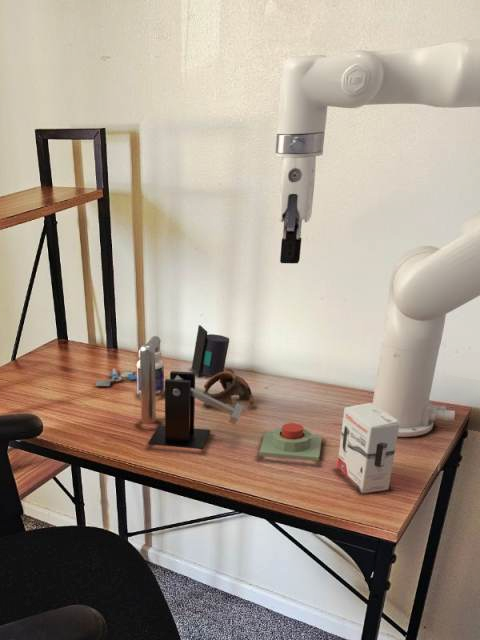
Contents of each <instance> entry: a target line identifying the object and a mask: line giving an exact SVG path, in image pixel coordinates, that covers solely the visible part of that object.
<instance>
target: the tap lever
mask: <svg viewBox="0 0 480 640" xmlns="http://www.w3.org/2000/svg"><path fill="white" fill-rule="evenodd" d="M174 380H186V379H184V378H182V377H180V376H178V375H177V376H176V378H175V379H174ZM191 396H193V397H195V399H197V400H199V401H201V402H203V403H204V402H205V403H207V404H209V405H211V406H210V407H213V408H215V409H217V410H219V411H221V412H223V413H225V414H228V415H229V419H228V423H230V424H232V425H233V426H236V424H237V422H238V421H239V418H240V416H241V413H242V410H243V408H244V405H242V404H241V403H239V402H236V403H235V405H234V407H232V406H230V405H229V404H224V403H222V402H220V401H218V400H216V399H214V398H212V397H210V396H208V395H206V394H204V393H203V392H202V391H200V390H197V389H196V388H195V389H193V388H191ZM205 403H204V404H205Z"/></svg>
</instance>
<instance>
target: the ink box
mask: <svg viewBox="0 0 480 640" xmlns="http://www.w3.org/2000/svg"><path fill="white" fill-rule="evenodd" d="M343 409H344V410H343V415H342V423H341V424H342V425H341V433H340V441H339V450H338V459H337V467H338V468H339V470H340V471H342V472H343V473H344V474H345V475H346V476H347V477H348V478H349V479H350V480H352V481H353V482H354V483H355V484H356V486H357V487H356V488H357V489H356V490H357V491H358V492H359V493H360V494H368V493H375V492H381V491H388V490H389V488H390V482H391V476H392V470H393V465H394V459H395V453H396V447H397V442H398V437H397V436H398V430H399V423H398V420H397V419H395V418H394V417H392V416H391V415H389V414H388V413H387V412H385V411H384V410H382V409H381V408H380V407H378V406H376V405H375V404H374V403H373V402H367V403H361V404H356V405H351V406H346V407H344V408H343Z"/></svg>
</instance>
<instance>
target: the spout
mask: <svg viewBox="0 0 480 640" xmlns="http://www.w3.org/2000/svg"><path fill="white" fill-rule="evenodd" d="M161 343H162V341H161V338H160V337H159V336H158V335H154V336H152V337H151V338H149V340H148V341H147V342H146V343H144V344H143V345H141V347H140V348H139V350H140V358H139V360H140V378H141V395H140V411H141V413H140V416H141V418H140V419H141V423H142V424H144V425H152V424H156V422H157V405H156V404H157V403H156V402H157V401H156V399H157V396H156V389H155V353H158V352H160V350H161Z"/></svg>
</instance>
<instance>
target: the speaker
mask: <svg viewBox="0 0 480 640" xmlns="http://www.w3.org/2000/svg"><path fill="white" fill-rule="evenodd" d="M208 333H209V332H208V331H207V329H205V328H204V327H203V326H202V325H201V324H198V326H197V332H196V340H195V344H194V352H193V357H192V363H191V372H194V373H195V376H197V378H201V374H203V375H206V376H211V377H213V376H214V375H216V374H218V373H220V372H224V371H225V365H226V362H227V361H226V359H227V355H228V350H229V346H230V338H229V337H228V336H225V335H221V334H212V333H210V334H208Z"/></svg>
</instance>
